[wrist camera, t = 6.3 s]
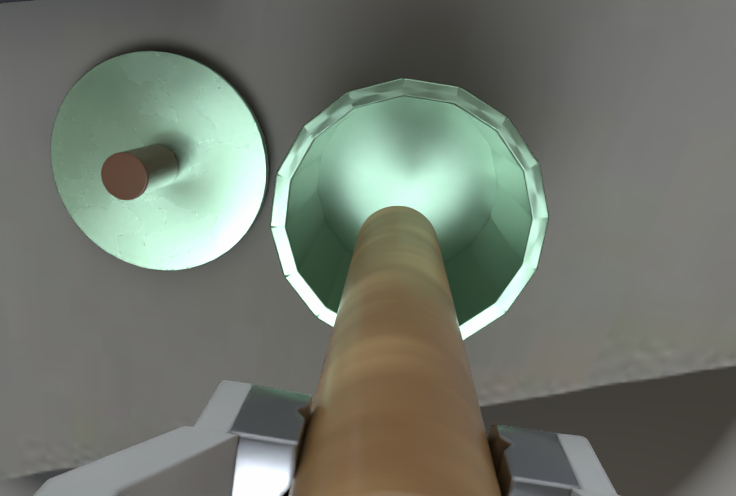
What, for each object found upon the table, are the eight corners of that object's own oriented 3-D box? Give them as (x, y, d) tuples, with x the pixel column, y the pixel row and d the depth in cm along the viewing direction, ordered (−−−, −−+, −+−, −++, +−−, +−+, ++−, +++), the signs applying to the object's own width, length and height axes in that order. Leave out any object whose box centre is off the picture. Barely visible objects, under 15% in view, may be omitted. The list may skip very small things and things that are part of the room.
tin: (296, 262, 38) (257, 327, 28) (321, 66, 35) (288, 59, 25) (485, 293, 38) (514, 368, 28) (525, 98, 35) (575, 104, 25)
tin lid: (58, 248, 39) (0, 275, 33) (64, 35, 36) (1, 26, 30) (259, 280, 39) (235, 313, 33) (282, 70, 35) (260, 67, 30)
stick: (351, 276, 24) (249, 690, 8) (363, 199, 23) (278, 474, 7) (429, 289, 24) (497, 730, 8) (444, 211, 23) (552, 519, 7)
